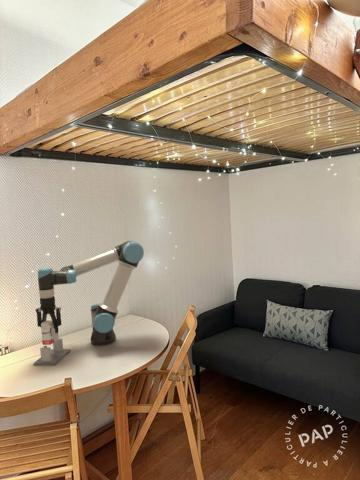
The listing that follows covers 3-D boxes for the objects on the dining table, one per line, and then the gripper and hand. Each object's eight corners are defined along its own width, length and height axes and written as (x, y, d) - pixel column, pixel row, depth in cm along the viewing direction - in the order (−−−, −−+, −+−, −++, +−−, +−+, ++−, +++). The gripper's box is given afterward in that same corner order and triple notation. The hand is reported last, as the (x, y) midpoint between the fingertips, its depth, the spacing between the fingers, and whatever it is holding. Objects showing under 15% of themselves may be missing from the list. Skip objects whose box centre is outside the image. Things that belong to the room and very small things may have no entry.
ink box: (50, 345, 175) (48, 323, 175) (42, 345, 176) (39, 323, 176) (59, 339, 184) (57, 318, 183) (51, 339, 185) (49, 318, 184)
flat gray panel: (70, 351, 189) (69, 335, 188) (55, 365, 171) (53, 347, 170) (51, 351, 190) (49, 335, 190) (33, 365, 173) (31, 348, 172)
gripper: (66, 294, 181) (69, 336, 183) (35, 295, 183) (38, 336, 185) (59, 298, 174) (63, 341, 175) (27, 298, 176) (31, 341, 177)
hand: (50, 338), depth 180 cm, fingers closed on ink box, 5 cm apart
